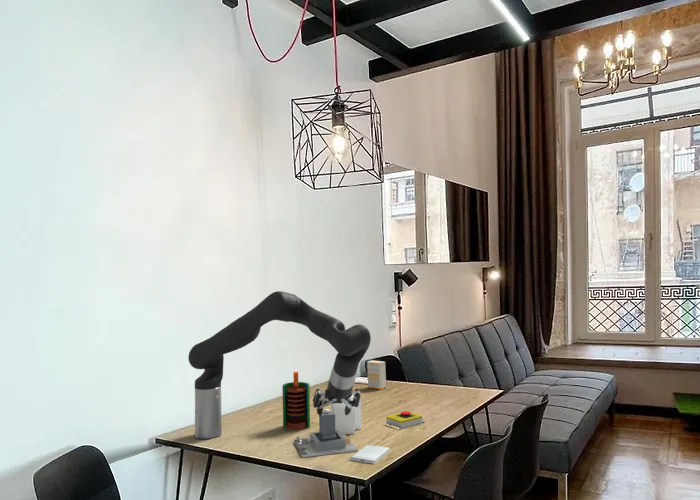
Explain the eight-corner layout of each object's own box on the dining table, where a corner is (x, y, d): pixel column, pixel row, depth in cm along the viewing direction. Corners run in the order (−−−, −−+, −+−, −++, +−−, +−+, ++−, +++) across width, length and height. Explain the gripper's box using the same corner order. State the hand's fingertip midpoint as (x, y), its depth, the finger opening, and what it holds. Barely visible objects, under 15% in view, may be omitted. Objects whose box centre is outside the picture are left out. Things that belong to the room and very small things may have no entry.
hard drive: (366, 444, 176) (350, 456, 165) (390, 447, 173) (374, 460, 162) (366, 449, 176) (350, 461, 165) (390, 452, 173) (374, 465, 161)
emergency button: (426, 411, 204) (397, 419, 195) (426, 423, 204) (397, 431, 195) (409, 407, 211) (380, 414, 202) (409, 418, 211) (380, 425, 202)
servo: (323, 447, 175) (322, 413, 175) (319, 441, 181) (318, 408, 181) (336, 445, 176) (335, 411, 177) (332, 440, 182) (331, 407, 182)
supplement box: (386, 388, 263) (385, 361, 264) (380, 390, 260) (379, 362, 260) (373, 386, 269) (373, 359, 269) (367, 387, 265) (366, 361, 266)
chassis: (302, 457, 168) (302, 446, 168) (293, 442, 184) (293, 432, 184) (357, 451, 173) (357, 440, 173) (344, 436, 188) (344, 427, 189)
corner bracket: (358, 424, 203) (357, 392, 204) (364, 432, 192) (363, 399, 193) (330, 426, 202) (329, 393, 202) (334, 435, 191) (334, 401, 191)
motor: (284, 431, 196) (283, 376, 197) (281, 424, 205) (280, 371, 206) (311, 428, 199) (310, 374, 200) (307, 422, 208) (306, 369, 208)
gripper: (362, 369, 166) (352, 403, 175) (317, 369, 162) (309, 403, 171) (367, 388, 160) (356, 422, 169) (320, 389, 156) (311, 423, 166)
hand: (332, 413), depth 170 cm, fingers open, 8 cm apart
